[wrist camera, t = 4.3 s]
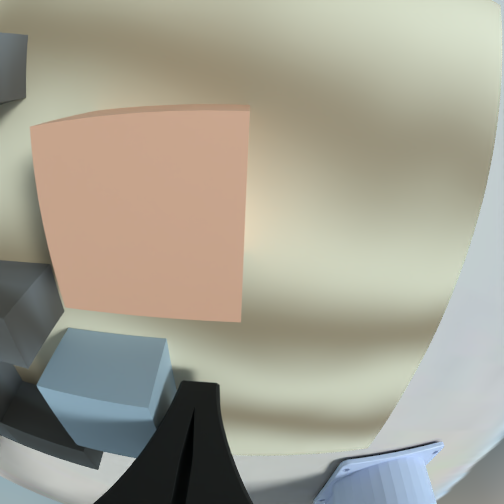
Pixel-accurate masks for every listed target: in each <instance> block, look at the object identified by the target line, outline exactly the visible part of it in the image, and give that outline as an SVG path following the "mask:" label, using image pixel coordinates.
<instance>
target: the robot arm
mask: <svg viewBox="0 0 504 504" xmlns="http://www.w3.org/2000/svg"><path fill="white" fill-rule="evenodd" d="M443 447H444V444H443V442H437V443H433V444H429V445H425V446H421V447H417V448H413V449H408V450H403V451H398V452H393V453H388V454H382V455H377V456H370V457H364V458H357V459H349V460H345V461H343V462H341V463H340V465H339V466H338V468H337V469H336V470H335V472H334V473H333V475H332V476H331V478H330V479H329V480H328V482H327V483H326V485H325V486H324V487H323V489H322V490H321V491H320V493H319V494H318V495H317V497H316V498H315V499H314V504H437V503H436V500H435V496H434V493H433V489H432V486H431V482H430V479H429V476H428V473H427V469H426V466H425V465H427V464H428V463H429V462H430V461H431V460H432V459H433V458H434V457H435V456H436V455H437V454H438V453H439V452H440V451H441V449H442V448H443ZM94 504H253V502H252V501H251V499H250V497H249V495H248V493H247V490H246V488H245V486H244V484H243V482H242V479H241V477H240V475H239V472H238V470H237V467H236V465H235V462H234V459H233V456H232V453H231V450H230V447H229V444H228V441H227V437H226V433H225V429H224V425H223V420H222V415H221V406H220V385H219V384H218V383H213V382H199V381H186V380H183V381H181V382H180V385H179V387H178V390H177V392H176V394H175V396H174V398H173V401H172V403H171V405H170V406H169V408H168V410H167V412H166V414H165V416H164V417H163V419H162V421H161V423H160V424H159V426H158V428H157V429H156V431H155V433H154V434H153V436H152V437H151V439H150V440H149V442H148V443H147V444H146V446H145V447H144V449H143V450H142V452H141V453H140V454H139V456H138V457H137V458H136V460H135V461H134V462H133V463H132V465H131V466H130V467H129V468H128V469H127V471H126V472H125V473H124V474H123V475H122V476H121V477H120V478H119V480H118V481H117V482H116V483H115V484H114V485H113V486H112V487H111V488H110V489H109V490H108V491H107V492H106V493H105V494H104V495H102V496H101V497H100V498H99V499H98V500H97V501H96V502H95V503H94Z"/></svg>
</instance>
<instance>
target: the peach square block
mask: <svg viewBox="0 0 504 504" xmlns="http://www.w3.org/2000/svg"><path fill="white" fill-rule="evenodd" d="M249 121H250V105H237V104H179V105H156V106H140V107H127V108H116V109H106V110H97V111H92V112H87V113H83V114H78V115H73V116H69V117H65V118H61V119H57V120H53V121H49V122H45V123H41V124H37V125H34V126H30V136H31V148H32V157H33V166H34V174H35V181H36V188H37V194H38V200H39V206H40V211H41V216H42V221H43V226H44V231H45V235H46V240H47V244H48V248H49V252H50V256H51V260H52V264H53V268H54V272H55V275H56V279H57V282H58V286H59V289H60V292H61V296H62V299H63V302H64V305H65V308H73V309H81V310H89V311H97V312H106V313H116V314H125V315H136V316H147V317H159V318H172V319H186V320H202V321H221V322H241V310H242V284H243V259H244V234H245V210H246V187H247V164H248V142H249Z"/></svg>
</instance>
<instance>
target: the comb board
mask: <svg viewBox="0 0 504 504" xmlns="http://www.w3.org/2000/svg"><path fill="white" fill-rule="evenodd" d="M501 77H502V21H501V6H500V5H499V4H497V3H496V2H494V1H492V0H0V435H2V436H4V437H6V438H8V439H11V440H13V441H15V442H17V443H20V444H22V445H25V446H27V447H30V448H32V449H35V450H37V451H40V452H43V453H45V454H48V455H51V456H54V457H57V458H60V459H63V460H66V461H69V462H72V463H76V464H79V465H82V466H86V467H89V468H93V469H97V470H98V469H99V465H100V462H101V458H102V455H103V451H99V450H95V449H91V448H87V447H83V446H79V445H77V444H76V443H75V442H74V440H73V439H72V438H71V436H70V435H69V434H68V432H67V431H66V429H65V428H64V427H63V425H62V424H61V423H60V421H59V420H58V418H57V417H56V415H55V414H54V412H53V411H52V409H51V408H50V406H49V405H48V403H47V402H46V400H45V399H44V397H43V396H42V394H41V392H40V391H39V389H38V388H37V386H36V385H37V383H38V381H39V379H40V377H41V375H42V374H43V372H44V370H45V368H46V366H47V364H48V362H49V361H50V359H51V357H52V355H53V353H54V352H55V350H56V348H57V346H58V345H59V343H60V341H61V340H62V338H63V336H64V334H65V333H66V331H67V329H68V328H74V329H82V330H89V331H97V332H105V333H114V334H123V335H132V336H143V337H154V338H166V339H167V344H168V349H169V355H170V360H171V365H172V370H173V376H174V380H175V385H176V390H178V387H179V385H180V382H181V381H183V380H186V381H199V382H213V383H218V384H219V385H220V406H221V415H222V420H223V425H224V429H225V433H226V437H227V441H228V444H229V447H230V450H231V453H232V455H248V456H279V455H305V454H320V453H332V452H342V451H351V450H359V449H366V448H368V447H369V446H370V444H371V443H372V441H373V440H374V439H375V437H376V436H377V434H378V433H379V431H380V430H381V428H382V427H383V425H384V424H385V422H386V421H387V419H388V418H389V416H390V414H391V413H392V411H393V410H394V408H395V406H396V405H397V403H398V401H399V400H400V398H401V396H402V395H403V393H404V391H405V390H406V388H407V386H408V384H409V383H410V381H411V379H412V377H413V375H414V374H415V372H416V370H417V368H418V366H419V364H420V362H421V360H422V359H423V357H424V355H425V353H426V351H427V349H428V347H429V345H430V343H431V341H432V338H433V336H434V334H435V332H436V330H437V328H438V326H439V323H440V321H441V319H442V317H443V314H444V312H445V310H446V307H447V305H448V303H449V300H450V298H451V295H452V293H453V290H454V288H455V285H456V283H457V280H458V277H459V275H460V272H461V269H462V267H463V264H464V261H465V258H466V255H467V252H468V249H469V246H470V243H471V240H472V236H473V233H474V230H475V227H476V223H477V220H478V216H479V212H480V209H481V205H482V201H483V197H484V193H485V188H486V184H487V180H488V175H489V170H490V165H491V160H492V155H493V149H494V143H495V136H496V129H497V122H498V113H499V104H500V92H501ZM179 104H237V105H250V121H249V142H248V164H247V187H246V210H245V234H244V259H243V284H242V310H241V322H221V321H202V320H186V319H172V318H159V317H147V316H136V315H125V314H116V313H106V312H97V311H89V310H81V309H73V308H65V305H64V302H63V299H62V296H61V292H60V289H59V286H58V282H57V279H56V275H55V272H54V268H53V264H52V260H51V256H50V252H49V248H48V244H47V240H46V235H45V231H44V226H43V221H42V216H41V211H40V206H39V200H38V194H37V188H36V181H35V174H34V166H33V157H32V148H31V136H30V126H34V125H37V124H41V123H45V122H49V121H53V120H57V119H61V118H65V117H69V116H73V115H78V114H83V113H87V112H92V111H97V110H106V109H116V108H127V107H140V106H156V105H179Z"/></svg>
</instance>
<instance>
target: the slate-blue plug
mask: <svg viewBox="0 0 504 504" xmlns="http://www.w3.org/2000/svg"><path fill="white" fill-rule="evenodd" d="M36 386H37V388H38V389H39V391H40V392H41V394H42V396H43V397H44V399H45V400H46V402H47V403H48V405H49V406H50V408H51V409H52V411H53V412H54V414H55V415H56V417H57V418H58V420H59V421H60V423H61V424H62V425H63V427H64V428H65V429H66V431H67V432H68V434H69V435H70V436H71V438H72V439H73V440H74V442H75V443H76V444H77V445H79V446H83V447H87V448H91V449H95V450H99V451H104V452H108V453H113V454H118V455H122V456H128V457H133V458H137V457H138V456H139V454H140V453H141V452H142V450H143V449H144V447H145V446H146V444H147V443H148V442H149V440H150V439H151V437H152V436H153V434H154V433H155V431H156V429H157V428H158V426H159V424H160V423H161V421H162V419H163V417H164V416H165V414H166V412H167V410H168V408H169V406H170V405H171V403H172V401H173V398H174V396H175V394H176V392H177V390H176V385H175V380H174V376H173V370H172V365H171V360H170V355H169V349H168V344H167V339H166V338H154V337H143V336H132V335H123V334H114V333H105V332H97V331H89V330H82V329H74V328H68V329H67V331H66V333H65V334H64V336H63V338H62V340H61V341H60V343H59V345H58V346H57V348H56V350H55V352H54V353H53V355H52V357H51V359H50V361H49V362H48V364H47V366H46V368H45V370H44V372H43V374H42V375H41V377H40V379H39V381H38V383H37V385H36Z"/></svg>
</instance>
